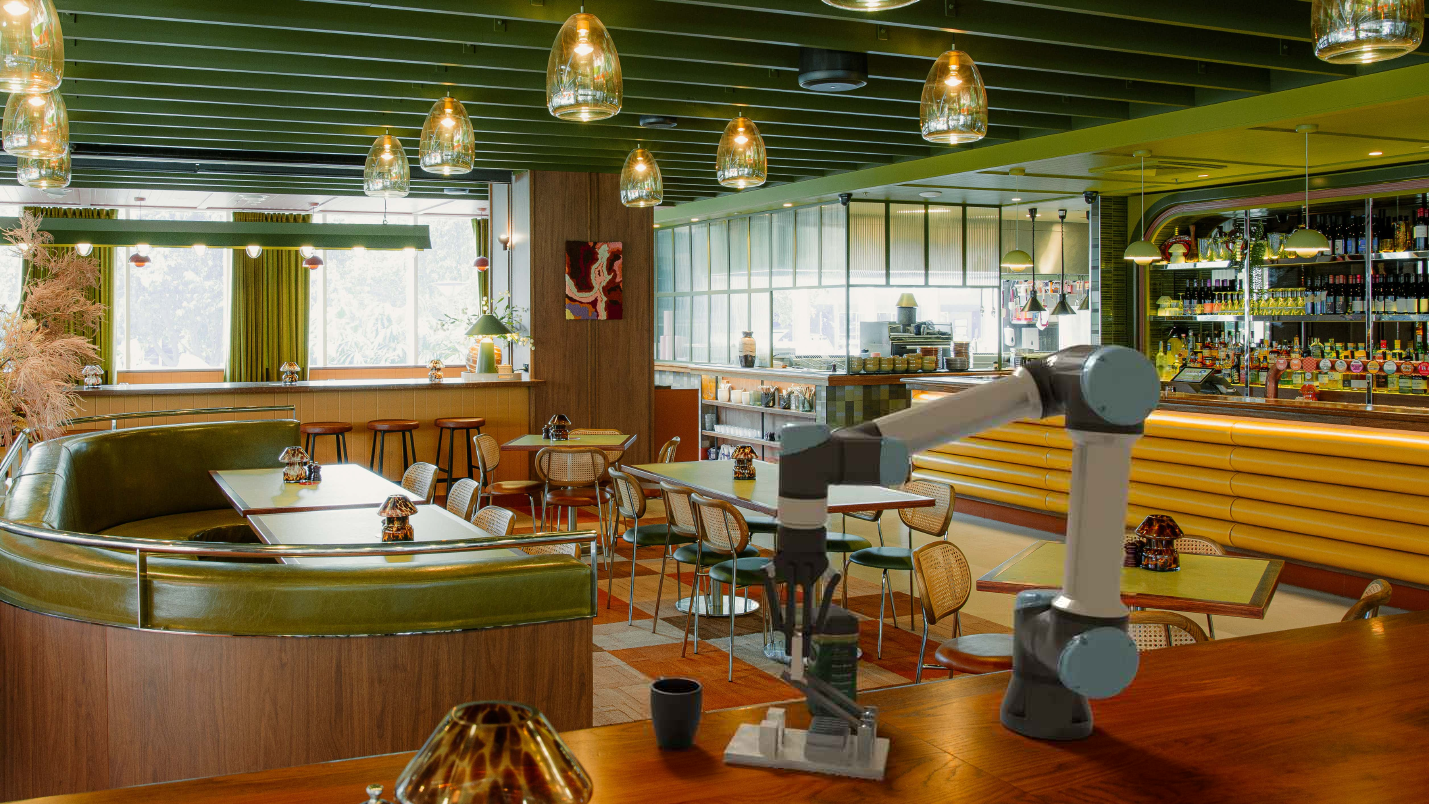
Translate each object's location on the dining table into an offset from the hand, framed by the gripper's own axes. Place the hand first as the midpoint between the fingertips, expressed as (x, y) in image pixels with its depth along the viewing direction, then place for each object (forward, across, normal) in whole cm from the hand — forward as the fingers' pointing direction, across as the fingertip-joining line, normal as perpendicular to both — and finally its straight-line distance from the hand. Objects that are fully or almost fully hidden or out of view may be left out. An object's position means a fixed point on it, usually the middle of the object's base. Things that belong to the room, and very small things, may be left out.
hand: (797, 677), depth 166 cm
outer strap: (+4, -4, 0) cm, 6 cm away
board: (+13, -2, -3) cm, 14 cm away
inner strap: (+4, -4, -6) cm, 8 cm away
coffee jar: (+13, -3, -23) cm, 27 cm away
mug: (+14, +20, -3) cm, 25 cm away
